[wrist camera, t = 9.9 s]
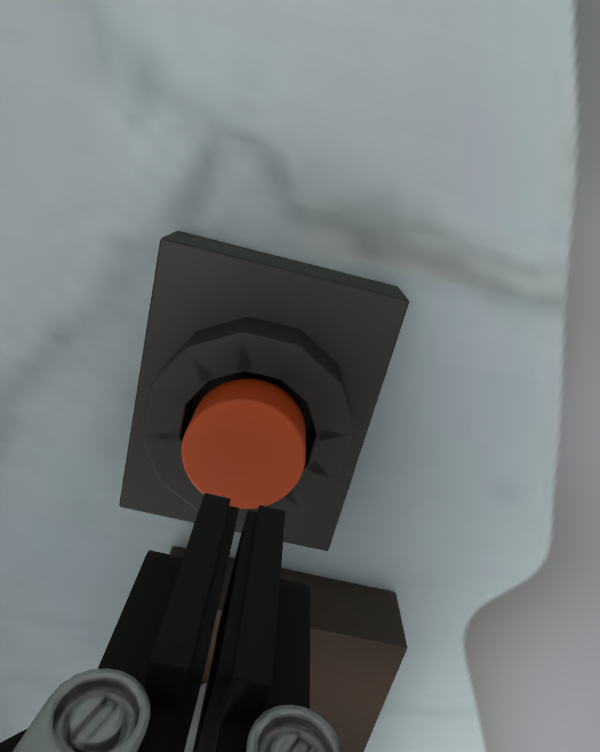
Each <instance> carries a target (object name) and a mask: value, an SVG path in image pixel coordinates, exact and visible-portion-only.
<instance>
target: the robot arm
mask: <svg viewBox="0 0 600 752" xmlns="http://www.w3.org/2000/svg"><path fill="white" fill-rule="evenodd" d="M230 499H231V498H226V497H222V496H217V495H213V494H208V493H205V494H204V496H203V499H202V502H201V505H200V508H199V512H198V515H197V518H196V521H195V524H194V527H193V530H192V533H191V536H190V539H189V542H188V545H187V548H186V551H185V554H184V557H179V556H174V555H169V554H165V553H160V552H155V551H151V550H149V552H148V553H147V555H146V557H145V559H144V561H143V564H142V566H141V569H140V571H139V573H138V576H137V578H136V580H135V583H134V585H133V587H132V590H131V592H130V594H129V597H128V599H127V601H126V604H125V606H124V609H123V611H122V613H121V616H120V618H119V620H118V623H117V625H116V627H115V630H114V632H113V634H112V637H111V639H110V641H109V644H108V646H107V648H106V651H105V653H104V656H103V658H102V660H101V663H100V665H99V667H98V669H92V670H88V671H85V672H83V673H80V674H77V675H74V676H73V677H71V678H70V679H68V680H67V681H65V682H64V683H62V684H61V685H60V686H59V687H58V688H57V689H56V690H55V691H54V693H53V694H52V695H51V696H50V697H49V698H48V700H47V701H46V703H45V704H44V706H43V707H42V709H41V710H40V712H39V713H38V715H37V716H36V718H35V719H34V720H33V722H32V723H31V725H30V726H29V728H28V729H26V730H24V731H22V732H20V733H18V734H16V735H14V736H12V737H11V738H9V739H7V740H5V741H3V742H1V743H0V752H184V750H185V746H186V742H187V738H188V735H189V731H190V727H191V723H192V719H193V715H194V711H195V707H196V703H197V699H198V695H199V691H200V687H201V683H202V679H203V675H204V670H205V666H206V661H207V657H208V652H209V648H210V643H211V638H212V634H213V629H214V624H215V620H216V615H217V610H218V606H219V601H220V596H221V592H222V587H223V582H224V577H225V573H226V568H227V563H228V559H229V554H230V549H231V545H232V540H233V535H234V531H235V526H236V521H237V517H238V512H239V508H238V507H233V506H229V504H230ZM284 523H285V510H280V509H276V508H271V507H267V506H262V505H259V507H258V511H257V512H256V511H251V510H247V513H246V517H245V521H244V525H243V529H242V533H241V537H240V541H239V545H238V549H237V553H236V557H235V561H234V564H233V568H232V572H231V576H230V580H229V584H228V588H227V592H226V596H225V600H224V604H223V608H222V612H221V616H220V621H219V625H218V630H217V635H216V640H215V645H214V649H213V654H212V659H211V664H210V669H209V674H208V679H207V684H206V689H205V693H204V698H203V703H202V708H201V713H200V718H199V723H198V728H197V733H196V737H195V742H194V747H193V752H343V749H342V746H341V743H340V740H339V738H338V736H337V735H336V733H335V731H334V730H333V728H332V727H331V725H330V724H329V723H327V722H326V721H325V720H324V719H323V718H322V717H321V716H320V715H319V714H317V713H315V712H313V711H311V710H310V586H309V584H305V583H300V582H296V581H291V580H286V579H282V578H280V574H281V561H282V548H283V536H284Z"/></svg>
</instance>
